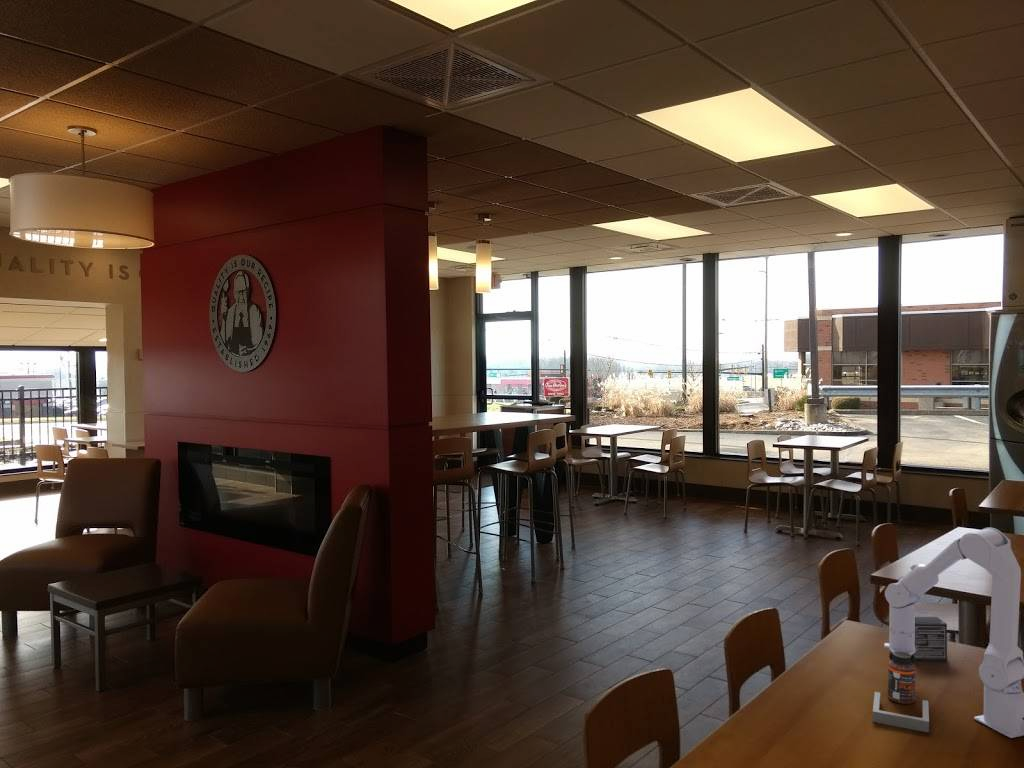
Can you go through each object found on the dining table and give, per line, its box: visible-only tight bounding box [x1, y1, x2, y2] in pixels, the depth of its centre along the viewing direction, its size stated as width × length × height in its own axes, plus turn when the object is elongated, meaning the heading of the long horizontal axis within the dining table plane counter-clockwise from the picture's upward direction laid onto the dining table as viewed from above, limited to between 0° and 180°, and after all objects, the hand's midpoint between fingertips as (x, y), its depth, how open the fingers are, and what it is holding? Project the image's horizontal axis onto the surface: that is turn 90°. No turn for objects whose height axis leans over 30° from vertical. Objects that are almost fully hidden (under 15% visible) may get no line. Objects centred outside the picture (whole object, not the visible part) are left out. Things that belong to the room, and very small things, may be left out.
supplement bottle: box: [887, 651, 916, 705], centre depth 187 cm, size 6×6×11 cm
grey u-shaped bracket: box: [872, 691, 930, 733], centre depth 178 cm, size 11×11×2 cm
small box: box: [914, 616, 948, 662], centre depth 212 cm, size 11×6×10 cm, turn 84°
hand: (901, 682), depth 193 cm, fingers closed
